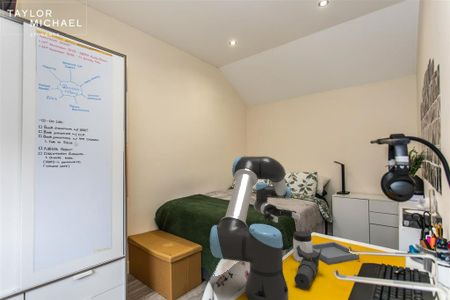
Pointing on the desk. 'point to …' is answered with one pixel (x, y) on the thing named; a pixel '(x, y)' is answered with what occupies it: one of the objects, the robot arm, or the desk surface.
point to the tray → (333, 253)
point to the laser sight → (306, 268)
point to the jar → (301, 243)
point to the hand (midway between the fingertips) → (288, 218)
